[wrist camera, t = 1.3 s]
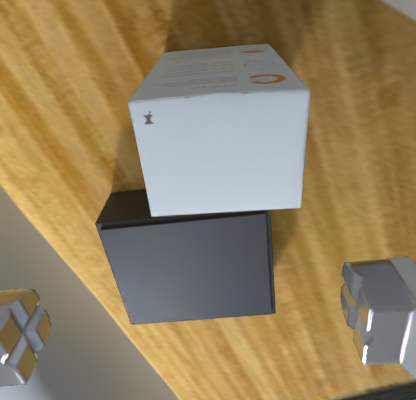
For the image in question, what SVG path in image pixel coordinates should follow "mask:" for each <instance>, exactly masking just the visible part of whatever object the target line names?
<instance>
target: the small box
mask: <svg viewBox="0 0 416 400" xmlns="http://www.w3.org/2000/svg"><path fill="white" fill-rule="evenodd" d="M309 104H310V89H309V88H308V87H307V86H306V85H305V84H304V83H303V82H302V81H301V80H300V78H299V77H298V76H297V75H296V74H295V73H294V72H293V70H292V69H291V68H290V67H289V66H288V65H287V64H286V63H285V62H284V60H283V59H282V58H281V57H280V56H279V55H278V54H277V53H276V51H275V50H274V49H273V48H272V47H271V46H270V45H269V44H255V45H242V46H230V47H218V48H207V49H195V50H184V51H174V52H165V53H163V55H162V56H161V58H160V59H159V60H158V62H157V63H156V64H155V66H154V67H153V69H152V70H151V71H150V73H149V74H148V75H147V77H146V78H145V80H144V81H143V82H142V84H141V85H140V86H139V88H138V89H137V90H136V92H135V93H134V95H133V96H132V97H131V99H130V100H129V101H128V106H129V110H130V114H131V119H132V123H133V128H134V133H135V137H136V142H137V147H138V151H139V156H140V161H141V166H142V171H143V176H144V181H145V186H146V191H147V197H148V201H149V206H150V212H151V216H152V217H159V216H175V215H192V214H209V213H226V212H243V211H259V210H276V209H293V208H300V207H301V202H302V189H303V177H304V165H305V152H306V140H307V127H308V115H309Z"/></svg>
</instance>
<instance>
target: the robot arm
mask: <svg viewBox="0 0 416 400" xmlns="http://www.w3.org/2000/svg"><path fill="white" fill-rule="evenodd" d="M342 275H343V277H344V280H345V282H346V283H345V284H344V285H343V286H342V287H341V303H342V310H343V313H344V317H345V320H346V323H347V325H348V326H349V327H351V328H352V329H353V330H354V338H353V341H354V343H355V346H356V349H357V351H358V354H359V356H360V359H361V361H362V364H363V365H369V364H401V366H402V367H403V368H404V369H405V370H406V371H407V372H408V373H410V374H411V375H412V376H413V377H414V378H415V379H416V264H415V262H414V261H413V259H412V258H410V257H408V256H406V257H396V258H387V259H377V260H366V261H355V262H345V263H344V266H343V273H342ZM39 300H40V298H39V296H38V294H37V292H36V291H35V290H33V289H16V290H0V387H3V386H14V385H25V384H27V382H28V380H29V378H30V376H31V374H32V371H33V369H34V367H35V365H36V363H37V361H38V360H37V356H36V353H37V352H38V351H39V350H40V349H42V348H43V347H44V346H45V344H46V342H47V340H48V338H49V335H50V327H51V323H50V317H49V315H48V313H47V311H46V310H45V309H43V308H42V307H40V306H39V305H38V303H39Z"/></svg>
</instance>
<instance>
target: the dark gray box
mask: <svg viewBox="0 0 416 400" xmlns="http://www.w3.org/2000/svg"><path fill="white" fill-rule="evenodd" d="M95 224H96V227H97V230H98V233H99V236H100V238H101V241H102V244H103V247H104V250H105V252H106V255H107V258H108V261H109V264H110V266H111V269H112V272H113V275H114V278H115V280H116V283H117V286H118V289H119V292H120V294H121V297H122V300H123V303H124V306H125V308H126V311H127V314H128V317H129V320H130V322H131V324H148V323H161V322H174V321H187V320H201V319H214V318H227V317H241V316H254V315H267V314H275V313H276V310H275V291H274V273H273V254H272V235H271V216H270V210H259V211H243V212H226V213H209V214H192V215H175V216H159V217H152V216H151V212H150V206H149V201H148V197H147V191H146V189H144V190H135V191H126V192H117V193H111V194H110V196H109V198H108V200H107V202H106V204H105V206H104V208H103V210H102V212H101V214H100V216H99V218H98V220H97V221H96V223H95Z"/></svg>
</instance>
